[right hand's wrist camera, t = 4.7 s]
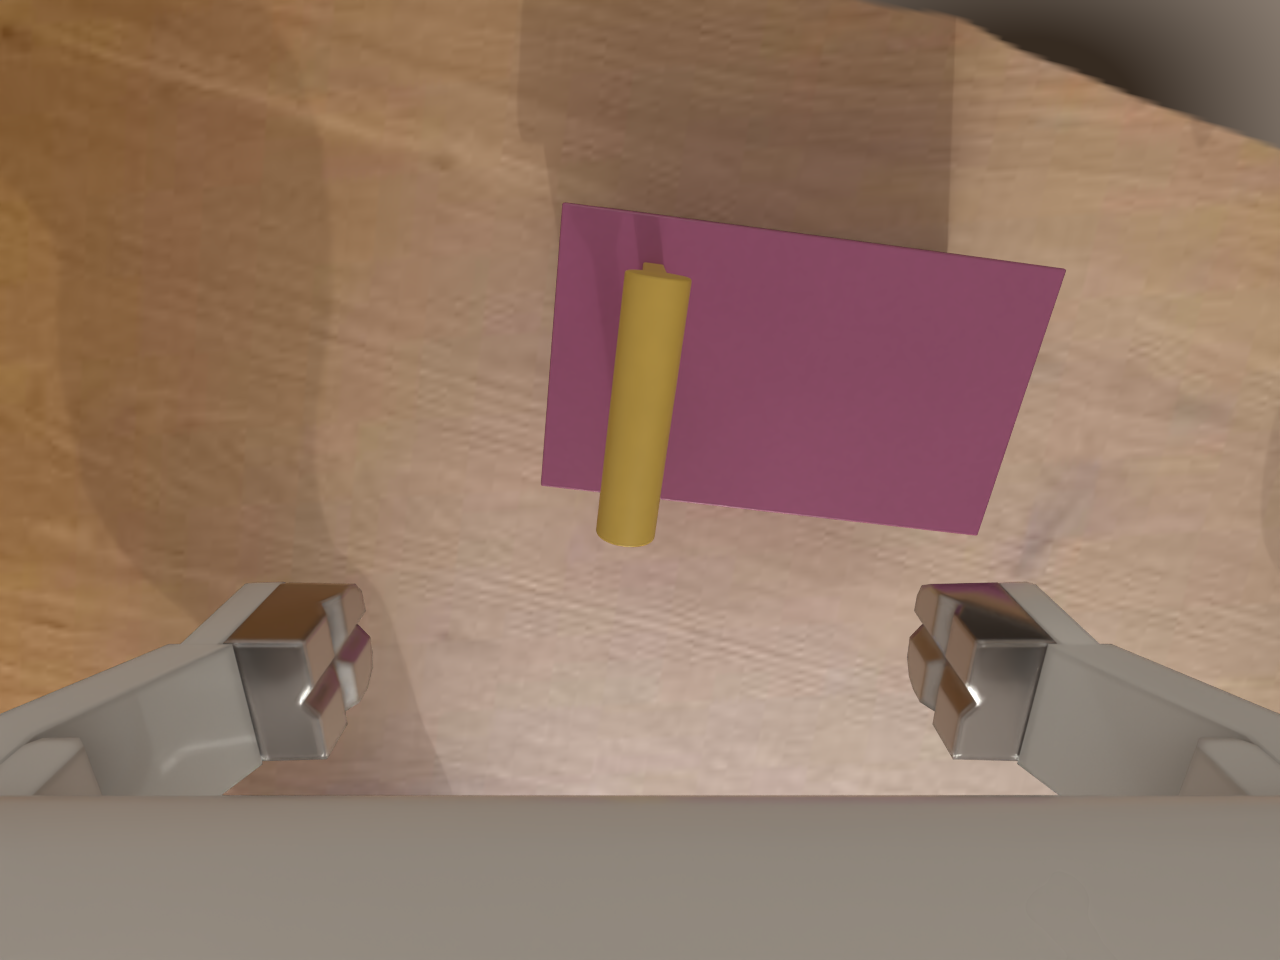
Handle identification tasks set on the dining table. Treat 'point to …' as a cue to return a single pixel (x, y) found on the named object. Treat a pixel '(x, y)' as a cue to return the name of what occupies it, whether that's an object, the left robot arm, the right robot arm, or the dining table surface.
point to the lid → (782, 372)
